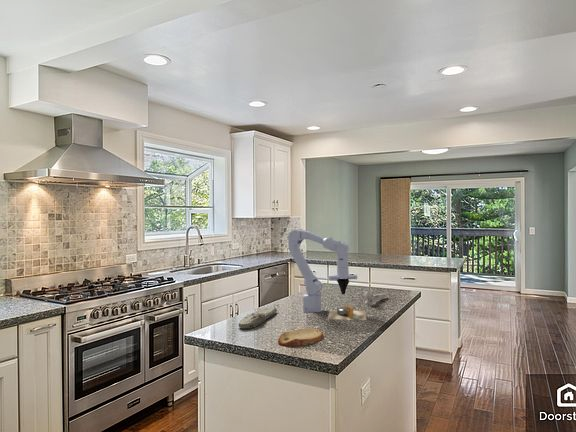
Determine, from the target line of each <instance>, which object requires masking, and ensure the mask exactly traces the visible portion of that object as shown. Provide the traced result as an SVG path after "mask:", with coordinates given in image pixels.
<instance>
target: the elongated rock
mask: <svg viewBox="0 0 576 432" xmlns="http://www.w3.org/2000/svg"><path fill="white" fill-rule="evenodd" d="M277 311H278V310H277V308H276V307H275V306H271V307H264V308H262V309H260V310H258V311H255V312H252V313H250V314H247V315H246V316H244V317H243V318H242V319H241V320H240V321H239V323H238V327H239V329H243V330H244V329H248V330H249V329H252V328H257V327H258V326H259V325H262V324H263V323H264V322H265V321H266V320H268V319H270V318H271V317H273V316H274V315H276V314H277Z"/></svg>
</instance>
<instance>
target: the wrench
mask: <svg viewBox="0 0 576 432" xmlns="http://www.w3.org/2000/svg"><path fill="white" fill-rule="evenodd" d="M362 297H363V298H366V300H365V301H364V305H366V306H367V307H371V304H372V303H373V302H374V301H379V300H386V299H387V297H388V295H387V293H379V294H372V293H371V292H370V291H364V293H363V295H362ZM385 298H386V299H385Z"/></svg>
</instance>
